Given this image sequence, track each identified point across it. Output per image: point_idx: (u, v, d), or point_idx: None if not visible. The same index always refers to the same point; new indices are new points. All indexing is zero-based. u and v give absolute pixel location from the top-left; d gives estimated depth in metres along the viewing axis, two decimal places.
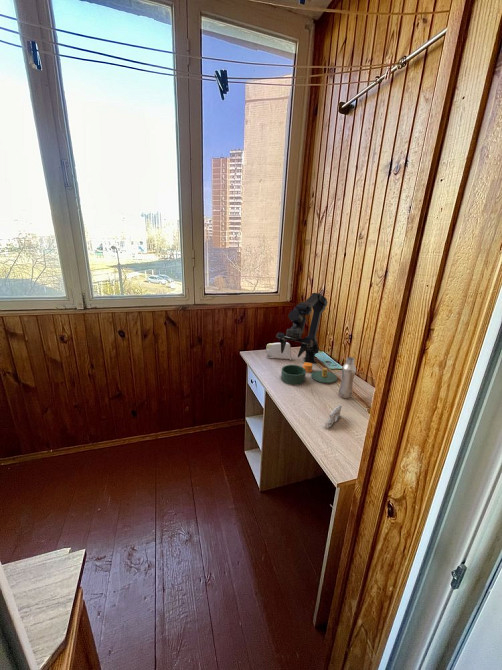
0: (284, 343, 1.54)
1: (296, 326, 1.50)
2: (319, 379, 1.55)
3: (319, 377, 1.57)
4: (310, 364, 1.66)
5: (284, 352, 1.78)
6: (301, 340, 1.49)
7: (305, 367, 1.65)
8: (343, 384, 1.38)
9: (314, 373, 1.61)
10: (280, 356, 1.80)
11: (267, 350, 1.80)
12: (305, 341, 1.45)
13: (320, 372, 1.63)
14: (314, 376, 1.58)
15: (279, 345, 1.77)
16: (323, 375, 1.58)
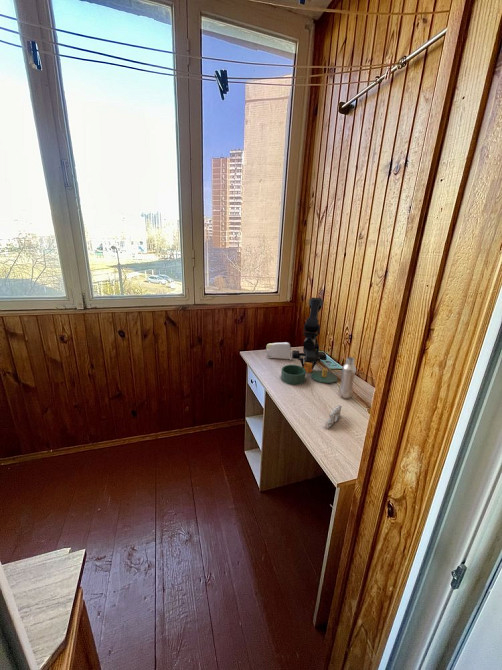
0: None
1: None
2: (319, 379, 1.55)
3: (319, 377, 1.57)
4: (310, 364, 1.66)
5: (284, 352, 1.78)
6: None
7: (305, 367, 1.65)
8: (343, 384, 1.38)
9: (314, 373, 1.61)
10: (280, 356, 1.80)
11: (267, 350, 1.80)
12: (322, 358, 1.61)
13: (320, 372, 1.63)
14: (314, 376, 1.58)
15: (279, 345, 1.77)
16: (323, 375, 1.58)
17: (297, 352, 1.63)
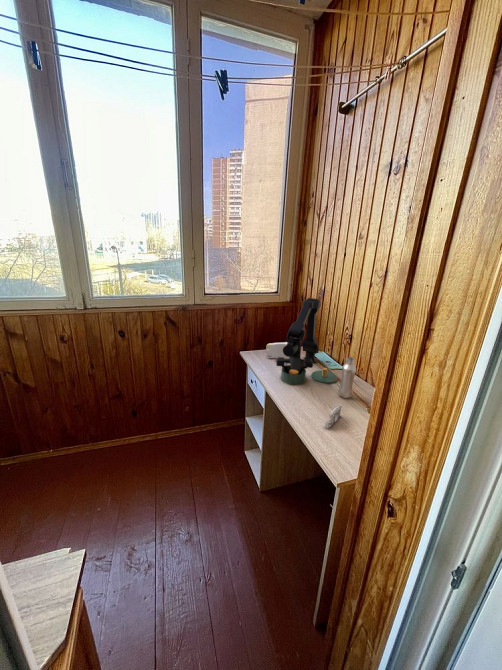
0: None
1: (295, 353, 1.49)
2: (319, 379, 1.55)
3: (319, 377, 1.57)
4: (296, 371, 1.56)
5: None
6: None
7: None
8: (343, 384, 1.38)
9: (314, 373, 1.61)
10: (280, 356, 1.80)
11: (267, 350, 1.80)
12: (308, 366, 1.51)
13: (320, 372, 1.63)
14: (314, 376, 1.58)
15: (279, 345, 1.77)
16: (323, 375, 1.58)
17: (282, 359, 1.53)
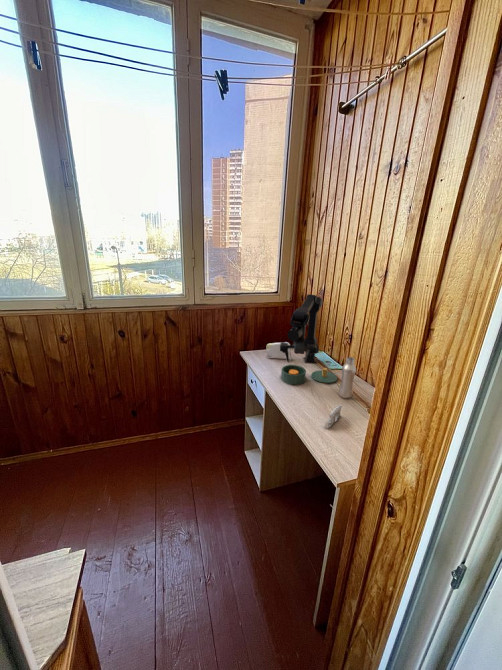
0: None
1: (299, 338, 1.47)
2: (319, 379, 1.55)
3: (319, 377, 1.57)
4: (296, 371, 1.56)
5: None
6: None
7: None
8: (343, 384, 1.38)
9: (314, 373, 1.61)
10: (280, 356, 1.80)
11: (267, 350, 1.80)
12: (312, 351, 1.48)
13: (320, 372, 1.63)
14: (314, 376, 1.58)
15: (279, 345, 1.77)
16: (323, 375, 1.58)
17: (285, 344, 1.51)
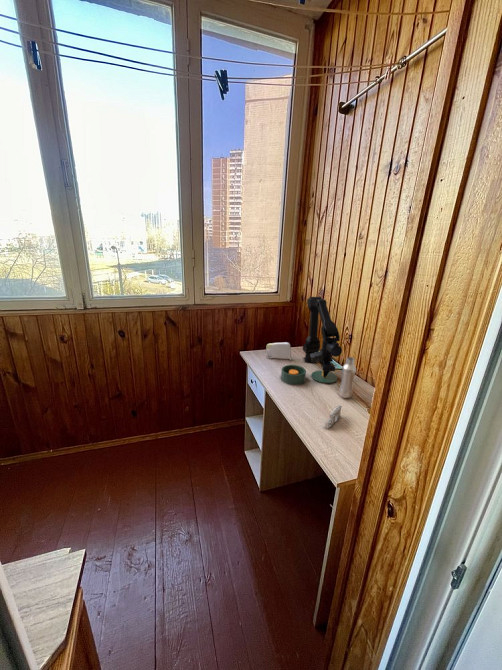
0: None
1: (321, 349, 1.54)
2: (319, 379, 1.55)
3: (319, 377, 1.57)
4: (296, 371, 1.56)
5: (284, 352, 1.78)
6: None
7: None
8: (343, 384, 1.38)
9: (314, 373, 1.61)
10: (280, 356, 1.80)
11: (267, 350, 1.80)
12: (322, 367, 1.50)
13: (320, 372, 1.63)
14: (314, 376, 1.58)
15: (279, 345, 1.77)
16: (323, 375, 1.58)
17: None
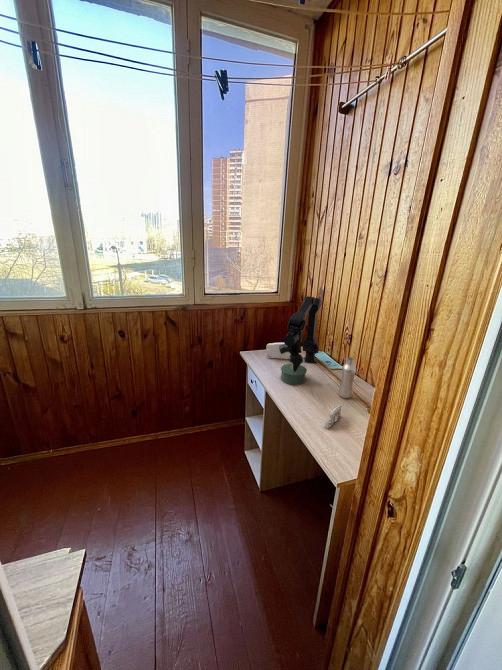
0: (294, 354, 1.58)
1: None
2: (288, 372, 1.52)
3: (288, 370, 1.54)
4: None
5: None
6: None
7: None
8: (343, 384, 1.38)
9: (284, 366, 1.58)
10: (280, 356, 1.80)
11: (267, 350, 1.80)
12: None
13: (290, 365, 1.59)
14: (283, 369, 1.55)
15: None
16: (292, 368, 1.54)
17: None
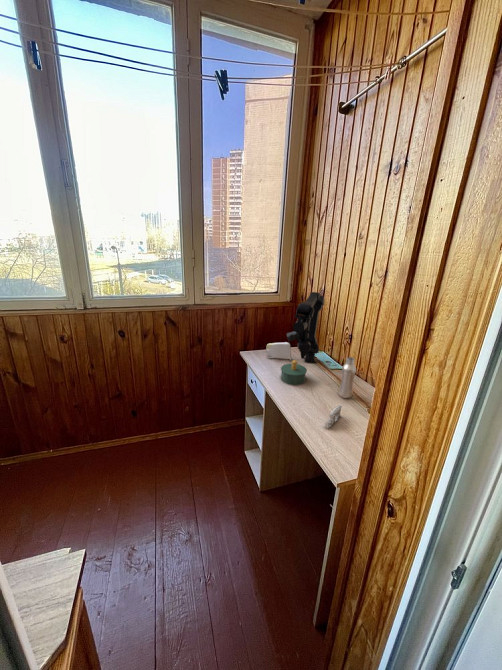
0: None
1: None
2: (288, 372, 1.52)
3: (288, 370, 1.54)
4: None
5: (284, 352, 1.78)
6: None
7: None
8: (343, 384, 1.38)
9: (284, 366, 1.58)
10: (280, 356, 1.80)
11: (267, 350, 1.80)
12: None
13: (290, 365, 1.59)
14: (283, 369, 1.55)
15: (279, 345, 1.77)
16: (292, 368, 1.54)
17: None
